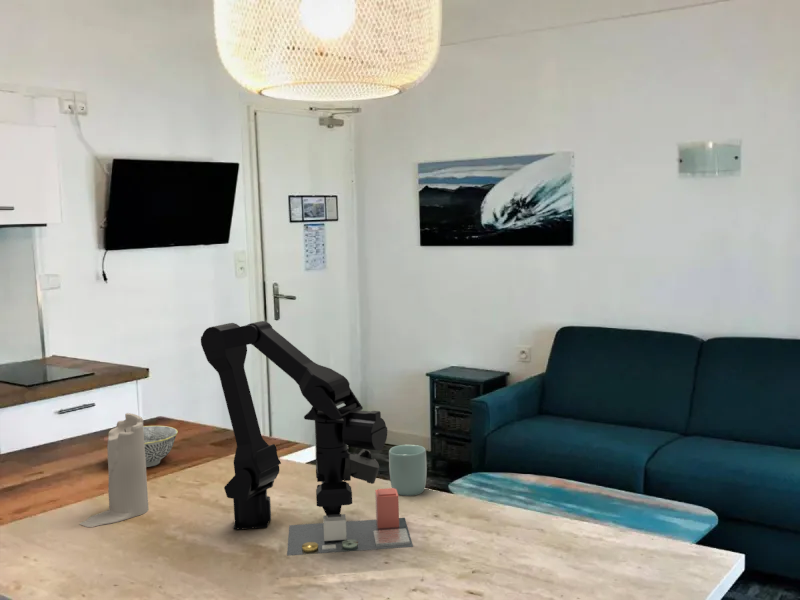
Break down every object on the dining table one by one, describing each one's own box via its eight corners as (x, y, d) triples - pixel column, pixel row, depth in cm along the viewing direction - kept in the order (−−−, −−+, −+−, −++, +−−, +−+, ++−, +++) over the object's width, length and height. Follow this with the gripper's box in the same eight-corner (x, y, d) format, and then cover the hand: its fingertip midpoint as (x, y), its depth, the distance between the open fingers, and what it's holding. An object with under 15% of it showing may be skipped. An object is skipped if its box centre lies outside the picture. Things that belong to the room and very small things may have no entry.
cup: (423, 503, 171) (422, 455, 170) (386, 501, 172) (385, 454, 171) (429, 490, 178) (428, 444, 177) (394, 489, 180) (393, 443, 179)
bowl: (193, 459, 206) (191, 429, 206) (142, 477, 193) (140, 446, 192) (149, 451, 215) (147, 422, 214) (97, 468, 202) (95, 437, 201)
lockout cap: (377, 528, 155) (376, 495, 154) (376, 520, 159) (375, 488, 158) (399, 526, 155) (398, 494, 154) (397, 519, 159) (396, 487, 158)
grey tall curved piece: (74, 522, 166) (66, 424, 164) (137, 502, 176) (131, 410, 174) (91, 530, 161) (84, 429, 159) (155, 510, 171) (149, 415, 169)
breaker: (324, 541, 149) (323, 520, 148) (324, 534, 152) (323, 514, 151) (346, 539, 149) (345, 519, 149) (345, 533, 152) (345, 513, 152)
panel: (287, 562, 144) (286, 551, 144) (289, 531, 158) (289, 521, 157) (413, 553, 146) (413, 542, 146) (404, 523, 160) (404, 514, 160)
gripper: (379, 456, 143) (382, 543, 145) (371, 428, 162) (374, 505, 164) (314, 460, 142) (318, 548, 144) (314, 431, 161) (317, 509, 162)
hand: (334, 526), depth 153 cm, fingers closed
